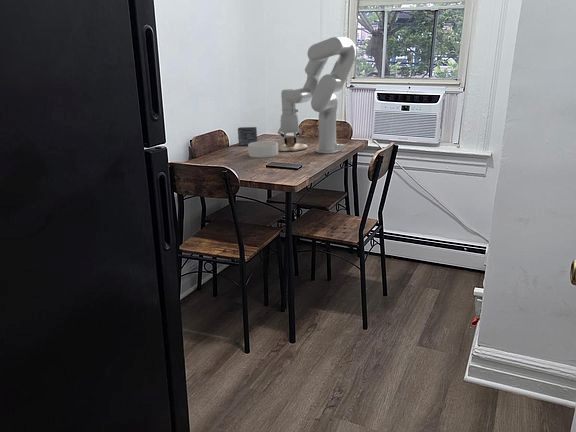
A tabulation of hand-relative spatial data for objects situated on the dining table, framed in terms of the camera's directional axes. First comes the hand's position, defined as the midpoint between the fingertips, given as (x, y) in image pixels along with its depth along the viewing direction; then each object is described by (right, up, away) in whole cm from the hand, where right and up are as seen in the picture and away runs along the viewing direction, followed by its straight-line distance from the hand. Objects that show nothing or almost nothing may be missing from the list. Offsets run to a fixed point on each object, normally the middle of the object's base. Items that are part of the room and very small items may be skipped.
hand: (290, 144), depth 291 cm
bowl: (-15, -8, -14) cm, 21 cm away
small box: (-25, +2, +16) cm, 30 cm away
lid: (0, -2, +1) cm, 2 cm away
